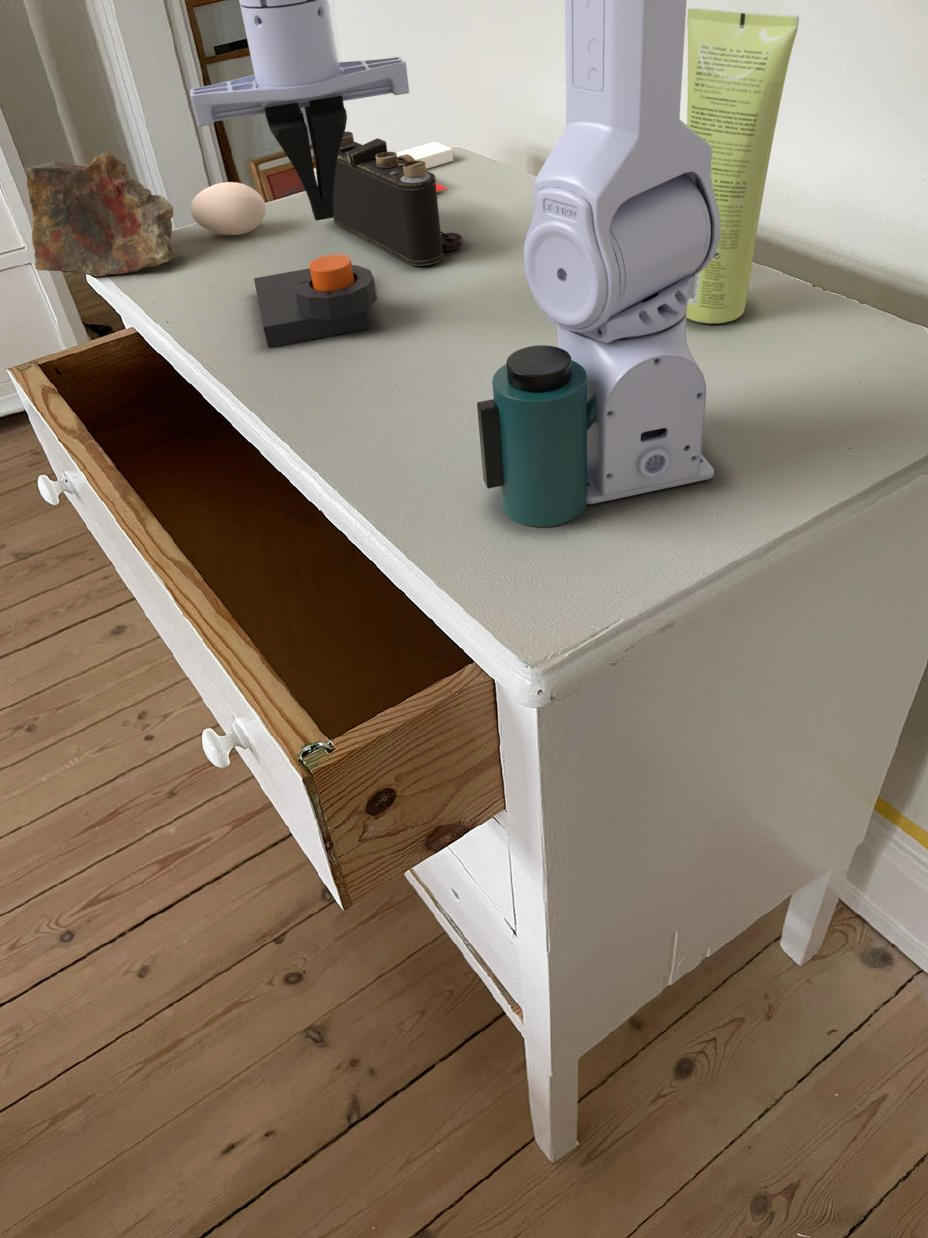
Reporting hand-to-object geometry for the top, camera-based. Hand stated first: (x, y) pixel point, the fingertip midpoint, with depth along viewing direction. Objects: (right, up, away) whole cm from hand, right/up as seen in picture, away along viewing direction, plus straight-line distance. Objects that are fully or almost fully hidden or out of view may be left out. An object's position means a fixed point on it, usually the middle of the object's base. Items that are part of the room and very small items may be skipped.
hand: (323, 214), depth 71 cm
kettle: (+15, -23, -15) cm, 31 cm away
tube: (+29, -7, +2) cm, 30 cm away
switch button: (0, -4, +4) cm, 5 cm away
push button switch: (-2, -5, +8) cm, 9 cm away
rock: (-21, +6, +22) cm, 31 cm away
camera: (+4, +6, +18) cm, 20 cm away
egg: (-8, +9, +21) cm, 24 cm away
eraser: (+7, +21, +37) cm, 43 cm away
